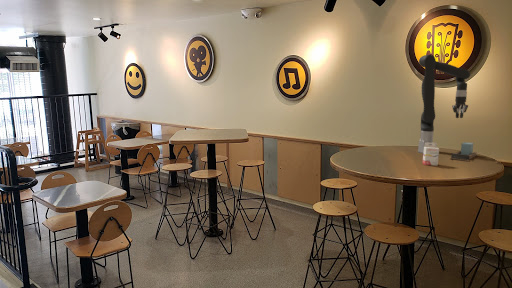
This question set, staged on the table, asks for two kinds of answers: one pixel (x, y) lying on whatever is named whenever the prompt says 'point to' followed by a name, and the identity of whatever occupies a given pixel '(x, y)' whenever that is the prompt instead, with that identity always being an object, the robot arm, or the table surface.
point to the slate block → (466, 148)
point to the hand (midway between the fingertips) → (459, 117)
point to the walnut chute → (462, 156)
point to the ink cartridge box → (430, 154)
